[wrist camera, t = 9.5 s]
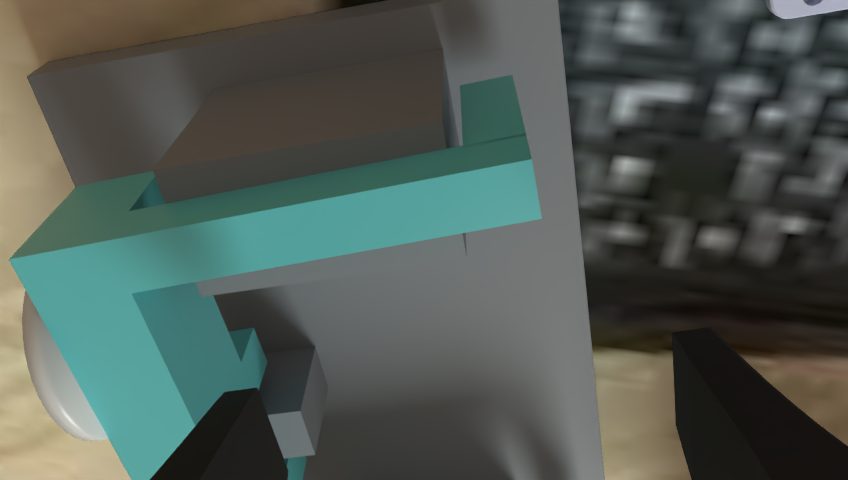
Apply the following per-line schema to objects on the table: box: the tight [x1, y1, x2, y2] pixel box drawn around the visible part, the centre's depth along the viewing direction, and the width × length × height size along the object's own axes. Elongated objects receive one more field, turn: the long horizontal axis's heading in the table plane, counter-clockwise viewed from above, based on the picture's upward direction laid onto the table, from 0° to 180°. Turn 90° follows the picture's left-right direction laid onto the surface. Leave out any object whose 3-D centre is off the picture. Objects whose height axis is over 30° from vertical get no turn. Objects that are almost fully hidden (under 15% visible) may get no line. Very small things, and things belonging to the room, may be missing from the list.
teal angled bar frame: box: [9, 75, 542, 480], centre depth 20 cm, size 10×16×5 cm, turn 13°
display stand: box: [27, 0, 605, 480], centre depth 22 cm, size 13×20×6 cm, turn 10°
